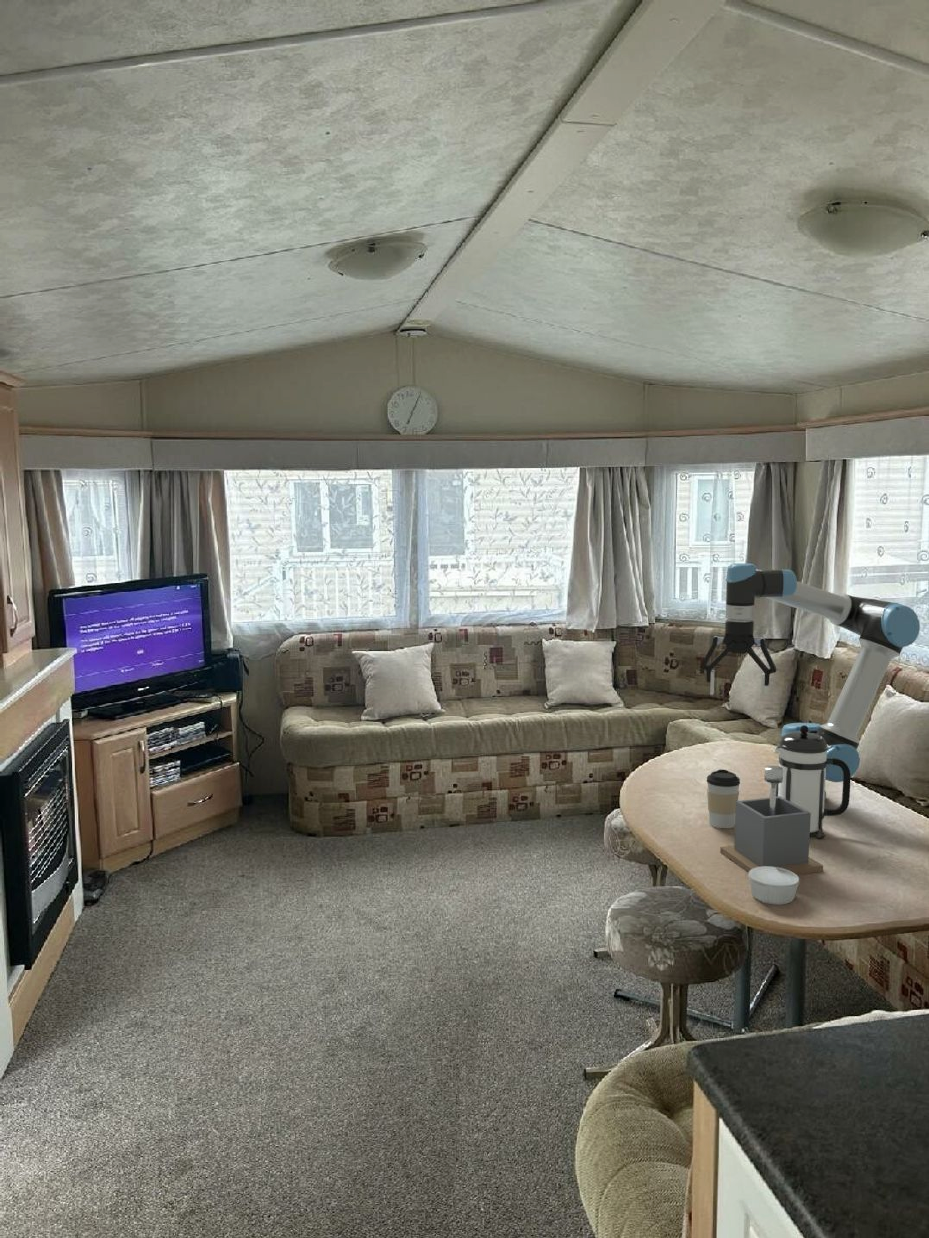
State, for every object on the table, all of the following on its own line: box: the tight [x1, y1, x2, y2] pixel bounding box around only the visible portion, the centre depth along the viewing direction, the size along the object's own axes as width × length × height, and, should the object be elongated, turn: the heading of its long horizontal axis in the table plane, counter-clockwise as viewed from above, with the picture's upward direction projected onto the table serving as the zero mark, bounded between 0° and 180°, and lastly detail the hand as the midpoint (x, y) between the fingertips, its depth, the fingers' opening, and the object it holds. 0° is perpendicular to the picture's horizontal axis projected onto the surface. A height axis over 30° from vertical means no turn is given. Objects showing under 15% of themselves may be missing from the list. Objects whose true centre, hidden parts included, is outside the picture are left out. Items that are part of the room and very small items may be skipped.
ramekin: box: [747, 866, 800, 906], centre depth 224 cm, size 11×11×5 cm
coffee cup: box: [706, 769, 741, 829], centre depth 270 cm, size 9×9×15 cm
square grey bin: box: [719, 796, 824, 876], centre depth 243 cm, size 18×18×14 cm
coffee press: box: [772, 725, 851, 840], centre depth 263 cm, size 17×16×30 cm
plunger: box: [763, 765, 783, 816], centre depth 242 cm, size 10×10×22 cm
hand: (737, 695), depth 267 cm, fingers open, 13 cm apart
